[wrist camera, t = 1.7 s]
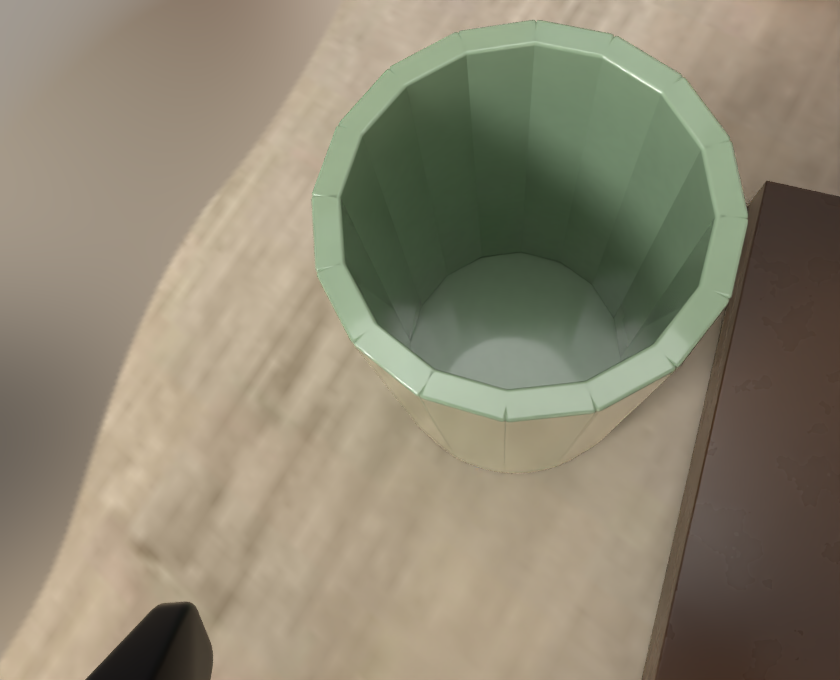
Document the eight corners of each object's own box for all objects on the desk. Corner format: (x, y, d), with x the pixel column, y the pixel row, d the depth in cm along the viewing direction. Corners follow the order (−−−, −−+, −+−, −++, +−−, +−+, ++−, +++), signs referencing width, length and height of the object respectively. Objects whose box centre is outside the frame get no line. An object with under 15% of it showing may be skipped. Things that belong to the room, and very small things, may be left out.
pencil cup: (598, 504, 21) (692, 476, 10) (369, 434, 22) (253, 349, 12) (655, 279, 22) (784, 65, 12) (436, 225, 23) (385, -12, 13)
